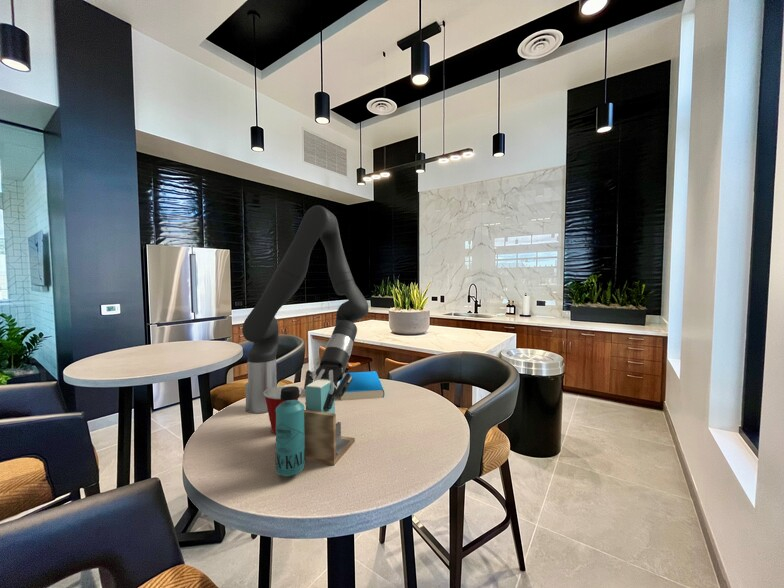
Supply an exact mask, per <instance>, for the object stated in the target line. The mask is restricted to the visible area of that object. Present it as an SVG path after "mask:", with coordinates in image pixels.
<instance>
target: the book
mask: <svg viewBox="0 0 784 588" xmlns="http://www.w3.org/2000/svg"><path fill="white" fill-rule="evenodd" d="M347 373H349V374H350V375H351V377H352V379H353V380H352V382H351V383H350V385H349V386H348V388H347V390H346V391H345V393H344V395H343V396H342V397H340V401H351V400H353V401H354V400H366V399H367V400H368V399H381V398H384V397H385V390H384V387H383V385H382V383H381V380H380V377H379V375H378V373H377V370H376V371H375V370H374V371H358V372H356V371H355V372H345V374H347ZM341 382H342V379H341V380H340V383H341Z"/></svg>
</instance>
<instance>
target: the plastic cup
mask: <svg viewBox="0 0 784 588" xmlns="http://www.w3.org/2000/svg"><path fill="white" fill-rule="evenodd" d="M285 387H289V386H284V385H283V386H282V385H281V386H277V387H273V388H269V389H267V390H265V391H264V392H263V394H264V396H265V400H266V404H267V409H268V412H267V413H268V419H269V422H270V426H271V432H272V433H273V434H274V435H276V408H277V406H278V405H279V404H280V403H282V402H284V401H287V400H282V399H281V398H280V396H281V389H282V388H285ZM301 393H302V390H301V389H300V388H299V394H300V395H301ZM294 400H298V401H299V398H297V399H294Z"/></svg>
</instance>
